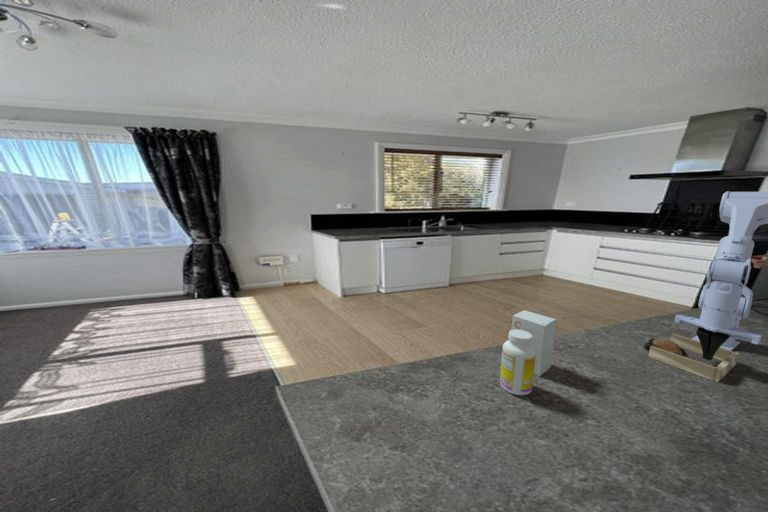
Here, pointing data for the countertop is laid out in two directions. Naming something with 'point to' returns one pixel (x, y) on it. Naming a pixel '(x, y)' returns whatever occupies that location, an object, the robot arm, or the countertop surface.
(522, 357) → the supplement bottle
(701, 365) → the frame
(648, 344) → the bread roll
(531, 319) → the small box
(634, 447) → the countertop surface
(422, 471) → the countertop surface
